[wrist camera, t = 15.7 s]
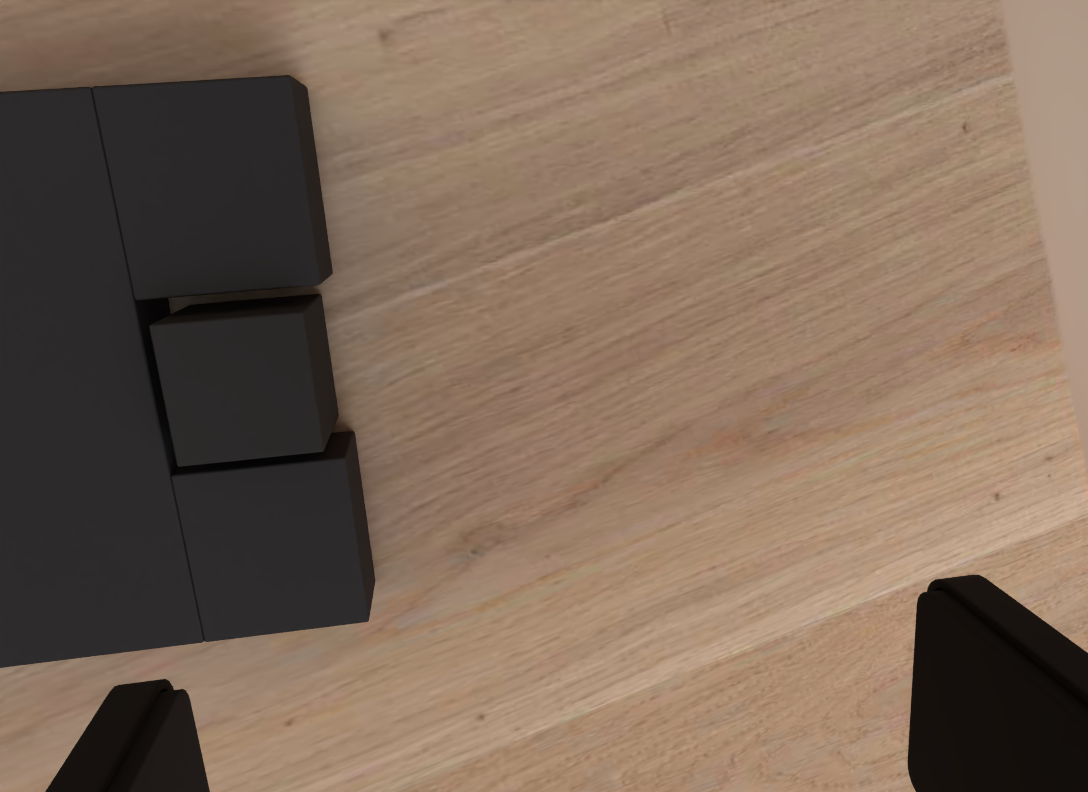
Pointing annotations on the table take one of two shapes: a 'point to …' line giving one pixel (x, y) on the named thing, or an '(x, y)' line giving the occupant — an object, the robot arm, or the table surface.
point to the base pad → (155, 374)
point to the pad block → (246, 379)
